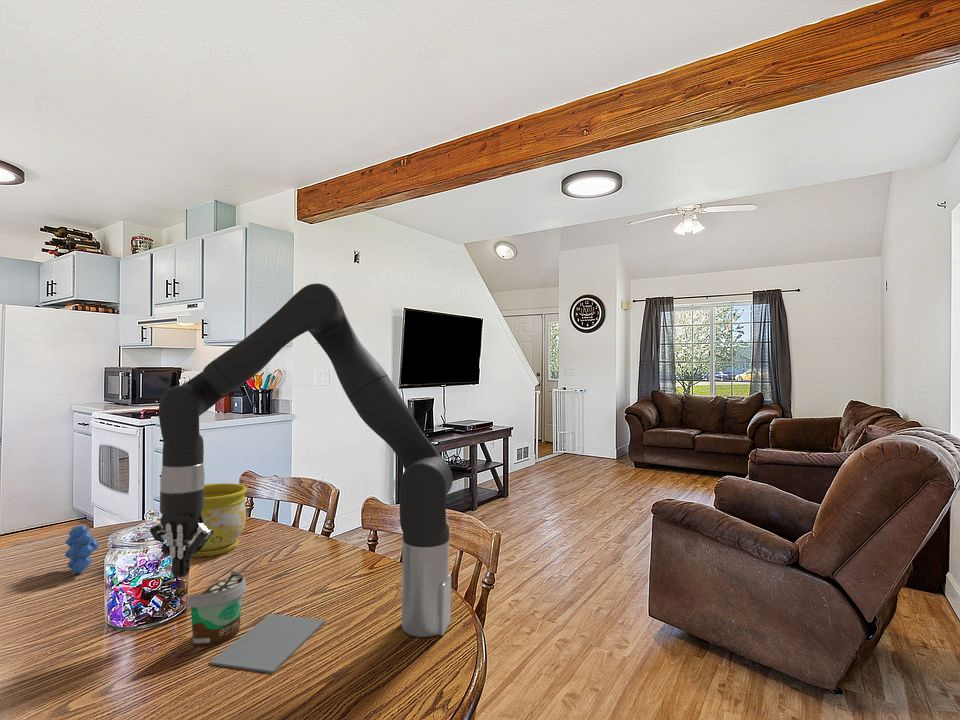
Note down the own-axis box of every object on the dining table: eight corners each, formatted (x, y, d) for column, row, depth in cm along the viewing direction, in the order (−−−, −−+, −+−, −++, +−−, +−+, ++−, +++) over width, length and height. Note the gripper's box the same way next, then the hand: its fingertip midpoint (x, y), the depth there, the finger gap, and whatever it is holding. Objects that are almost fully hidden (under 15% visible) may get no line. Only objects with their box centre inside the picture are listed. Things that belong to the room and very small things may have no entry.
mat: (324, 622, 106) (324, 620, 106) (272, 673, 89) (272, 671, 89) (270, 615, 109) (270, 613, 109) (209, 664, 91) (209, 662, 91)
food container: (217, 655, 94) (218, 599, 94) (187, 651, 95) (188, 595, 95) (259, 622, 106) (260, 572, 106) (232, 618, 107) (233, 569, 107)
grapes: (109, 573, 129) (110, 524, 129) (76, 582, 124) (76, 531, 124) (90, 562, 136) (91, 515, 136) (58, 570, 130) (59, 522, 131)
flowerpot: (259, 546, 150) (260, 488, 150) (197, 566, 134) (198, 502, 134) (222, 534, 159) (223, 480, 159) (160, 552, 144) (161, 492, 144)
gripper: (225, 484, 105) (223, 571, 105) (168, 480, 108) (166, 565, 108) (198, 493, 98) (196, 587, 98) (137, 489, 101) (135, 580, 100)
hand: (180, 575), depth 103 cm, fingers closed
